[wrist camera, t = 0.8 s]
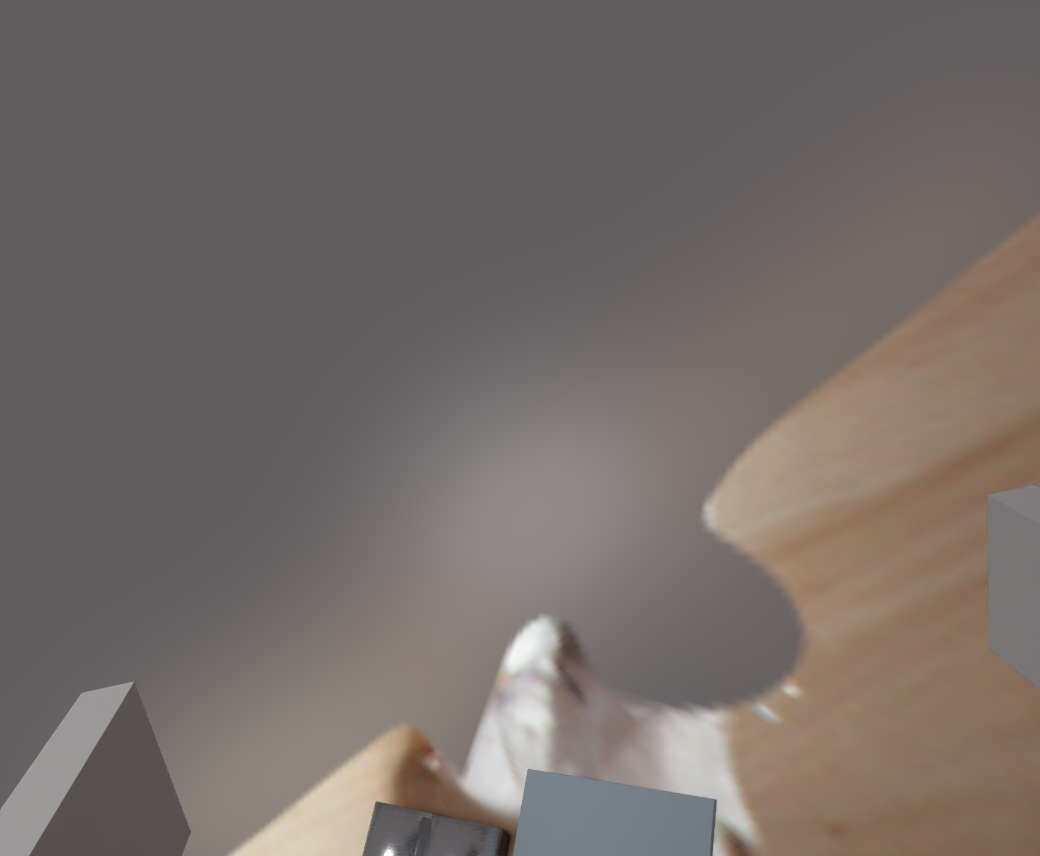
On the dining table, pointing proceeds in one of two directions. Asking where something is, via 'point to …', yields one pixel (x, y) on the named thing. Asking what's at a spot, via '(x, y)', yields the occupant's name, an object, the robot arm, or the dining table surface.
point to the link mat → (610, 819)
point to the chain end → (429, 835)
